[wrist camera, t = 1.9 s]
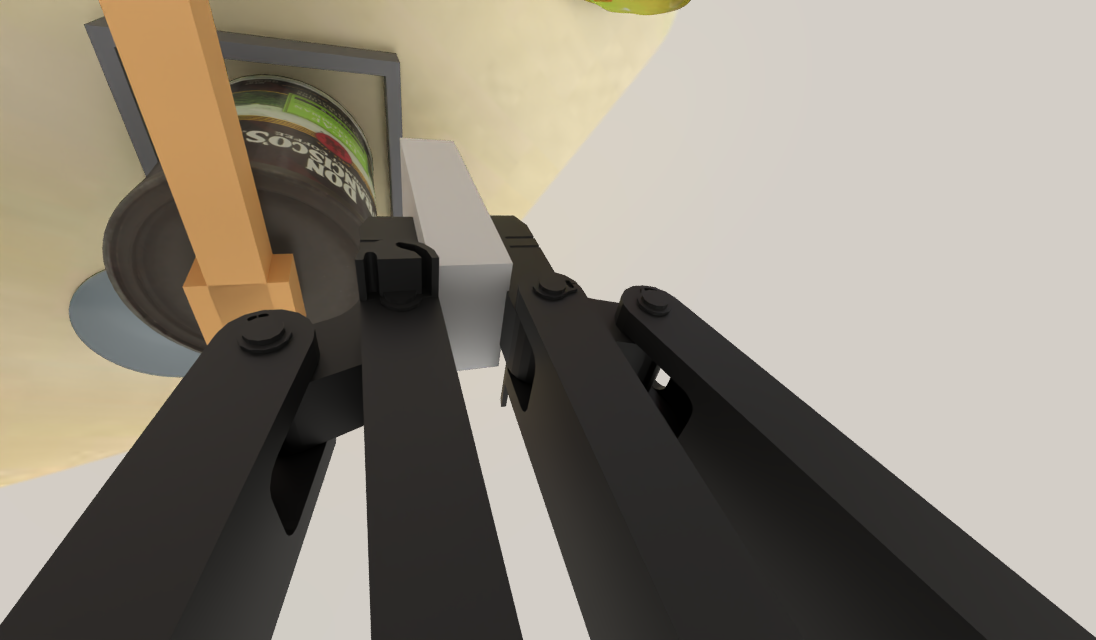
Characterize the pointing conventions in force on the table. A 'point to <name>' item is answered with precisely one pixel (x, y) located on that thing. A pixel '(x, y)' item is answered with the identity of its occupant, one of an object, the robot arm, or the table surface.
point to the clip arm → (202, 158)
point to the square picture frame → (270, 53)
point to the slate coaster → (123, 332)
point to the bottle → (641, 6)
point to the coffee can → (286, 202)
